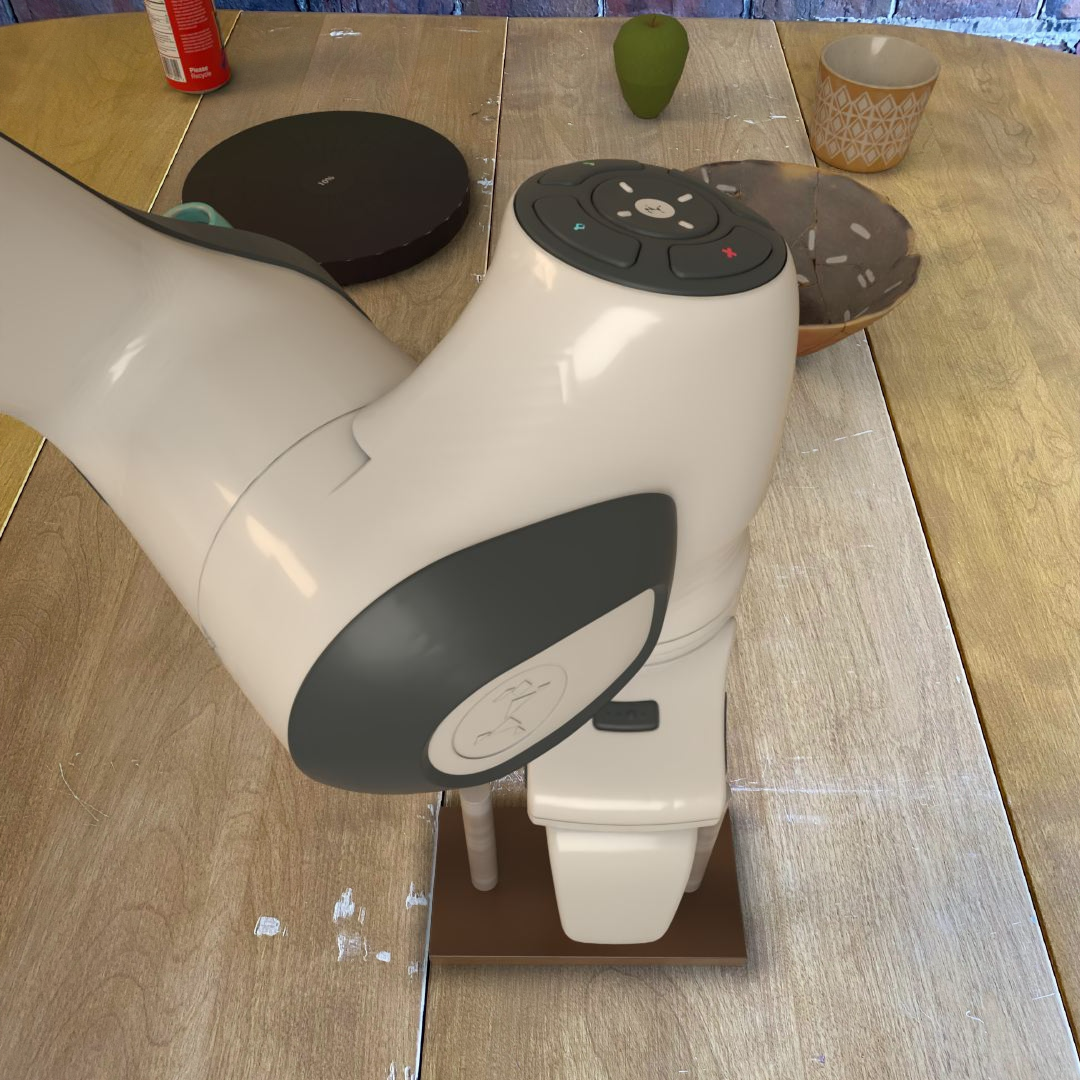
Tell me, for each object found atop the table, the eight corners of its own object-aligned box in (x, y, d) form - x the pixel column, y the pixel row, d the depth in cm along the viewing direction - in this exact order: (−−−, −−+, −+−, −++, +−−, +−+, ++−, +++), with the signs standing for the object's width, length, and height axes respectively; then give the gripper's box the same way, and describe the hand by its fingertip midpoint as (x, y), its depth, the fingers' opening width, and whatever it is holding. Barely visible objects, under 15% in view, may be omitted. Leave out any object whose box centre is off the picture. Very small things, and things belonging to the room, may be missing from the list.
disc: (293, 112, 119) (289, 87, 117) (517, 169, 111) (516, 143, 109) (129, 242, 102) (119, 217, 100) (379, 321, 94) (375, 294, 92)
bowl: (593, 267, 100) (598, 176, 92) (819, 232, 104) (842, 142, 96) (677, 438, 84) (691, 346, 77) (939, 389, 88) (977, 297, 80)
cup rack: (743, 966, 57) (789, 880, 46) (430, 964, 57) (406, 877, 47) (725, 818, 63) (763, 711, 52) (441, 816, 63) (422, 709, 52)
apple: (673, 94, 123) (683, -5, 114) (688, 128, 117) (701, 27, 108) (604, 98, 122) (609, -1, 113) (616, 133, 116) (623, 32, 108)
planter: (816, 114, 119) (836, 24, 111) (922, 137, 116) (950, 46, 108) (787, 165, 112) (807, 72, 104) (899, 190, 109) (928, 97, 101)
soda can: (162, 99, 121) (122, -33, 110) (176, 69, 126) (140, -61, 115) (226, 99, 121) (193, -34, 110) (238, 69, 126) (207, -61, 115)
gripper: (533, 398, 43) (534, 587, 54) (526, 856, 30) (529, 985, 41) (677, 398, 43) (650, 588, 54) (733, 857, 30) (682, 986, 41)
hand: (598, 763), depth 47 cm, fingers closed on blue cup, 6 cm apart
